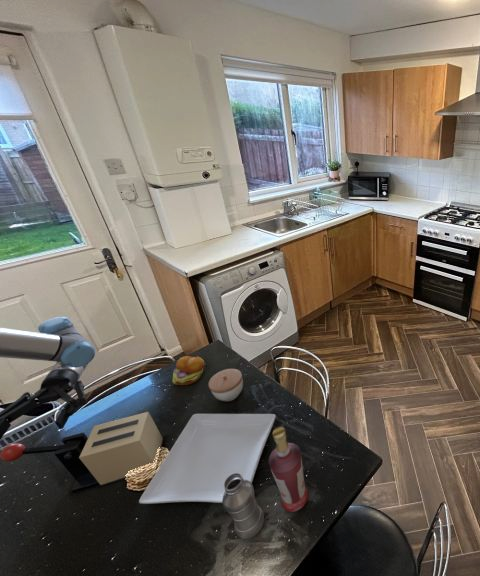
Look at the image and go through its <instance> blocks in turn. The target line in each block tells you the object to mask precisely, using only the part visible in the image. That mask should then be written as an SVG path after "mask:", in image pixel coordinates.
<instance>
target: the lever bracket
mask: <svg viewBox="0 0 480 576" xmlns="http://www.w3.org/2000/svg"><path fill="white" fill-rule="evenodd" d="M88 438H89V437H88V436H87V435H86V433H85V432H80V433H76V434H73V435H68V436H65V437H62V439H61V442H62V443H63V445H65V444H66V443H67V441H74V440H81V448H79V447H78V445H76V446H72V447H68V448H65V449H61V450H58V451H56V452H54V456H55V457H56V458H57V459H58V461H59V462H60V463H61V464H62V466H63V467H64V468H65V469H66V470H67V472H69V474H70V475H71V476H72V477H73V478H74V479H75V481H74V483H73V485H72V488H71V489H70V490H71V493H77V492H80V491H84V490H87V489H90V488H94V487H96V486H100V484H99V482H98V481H97V480H96V479H95V477H94V476H93V475H92V473H91V472H90V471H89V470H88V468H87V467H86V466H85V465H84V463H83V462H82V461H81V459H80V458H79V457H80V455H81V453H82V450H83V448H84V446H85V444H86V442H87V440H88Z"/></svg>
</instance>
